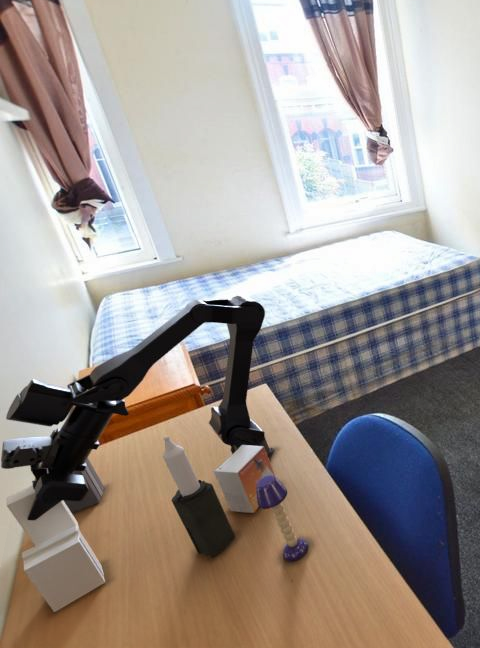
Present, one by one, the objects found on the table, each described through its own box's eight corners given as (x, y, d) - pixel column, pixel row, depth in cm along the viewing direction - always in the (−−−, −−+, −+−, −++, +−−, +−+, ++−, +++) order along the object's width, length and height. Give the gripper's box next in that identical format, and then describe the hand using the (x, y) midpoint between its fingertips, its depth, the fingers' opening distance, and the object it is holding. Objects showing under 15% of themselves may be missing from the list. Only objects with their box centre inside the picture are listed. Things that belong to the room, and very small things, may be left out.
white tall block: (77, 522, 88) (49, 477, 83) (79, 530, 86) (50, 485, 81) (38, 542, 84) (5, 497, 80) (39, 552, 82) (6, 505, 78)
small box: (253, 514, 93) (236, 473, 89) (230, 511, 94) (212, 471, 90) (279, 484, 100) (264, 445, 96) (257, 482, 101) (241, 443, 97)
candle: (238, 535, 89) (190, 428, 79) (214, 558, 84) (161, 448, 74) (218, 530, 90) (169, 424, 80) (194, 552, 86) (139, 443, 76)
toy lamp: (280, 567, 81) (250, 495, 75) (279, 547, 85) (250, 477, 78) (309, 554, 83) (282, 483, 77) (307, 535, 87) (281, 466, 80)
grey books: (104, 487, 104) (84, 452, 100) (100, 502, 100) (78, 466, 96) (64, 501, 101) (42, 465, 97) (58, 517, 97) (34, 481, 93)
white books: (101, 564, 85) (76, 525, 81) (106, 582, 82) (80, 541, 78) (50, 593, 81) (21, 552, 77) (53, 612, 77) (23, 571, 73)
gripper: (20, 402, 84) (-33, 485, 82) (25, 443, 72) (-38, 542, 69) (94, 416, 92) (48, 491, 90) (110, 455, 80) (57, 544, 78)
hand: (30, 515), depth 81 cm, fingers closed on white tall block, 3 cm apart
